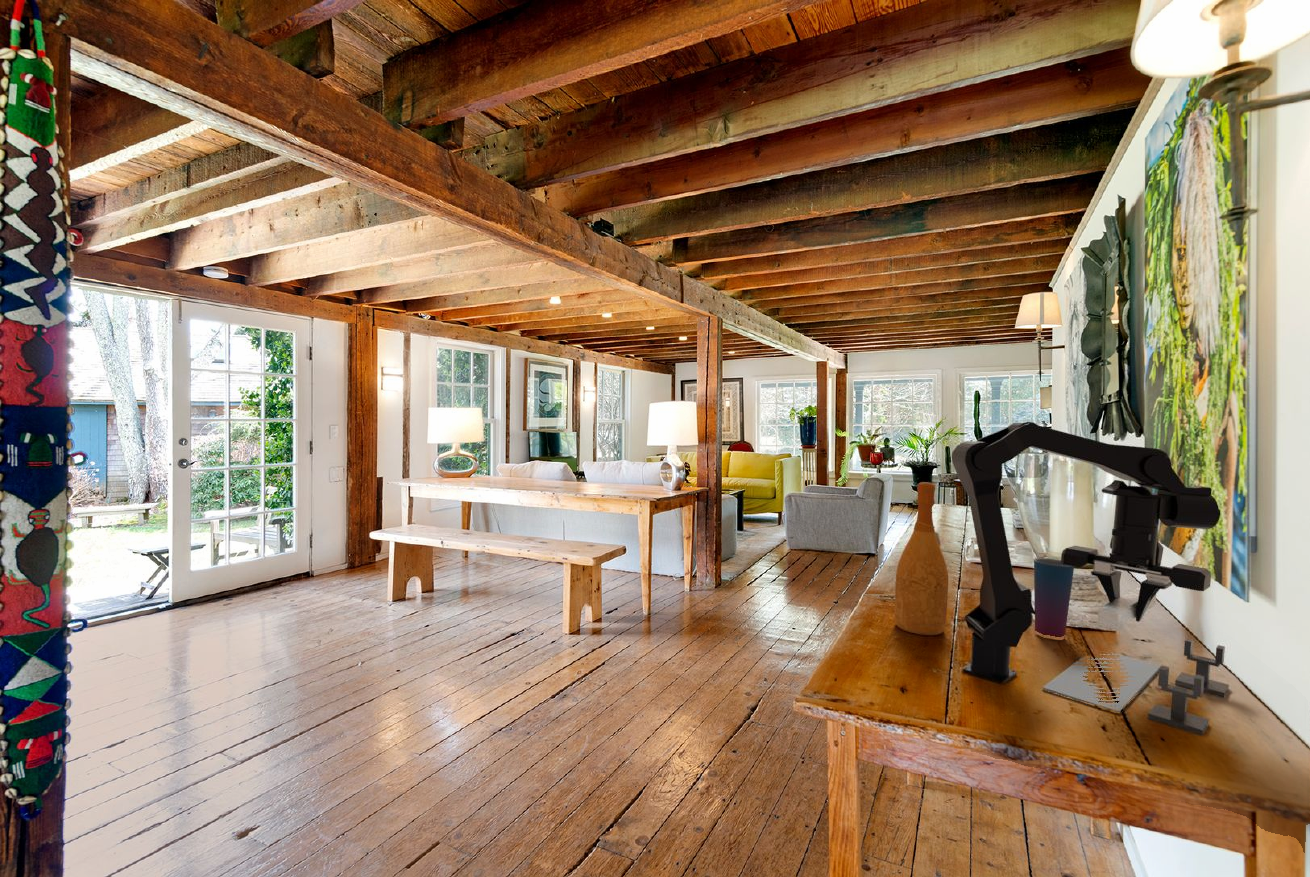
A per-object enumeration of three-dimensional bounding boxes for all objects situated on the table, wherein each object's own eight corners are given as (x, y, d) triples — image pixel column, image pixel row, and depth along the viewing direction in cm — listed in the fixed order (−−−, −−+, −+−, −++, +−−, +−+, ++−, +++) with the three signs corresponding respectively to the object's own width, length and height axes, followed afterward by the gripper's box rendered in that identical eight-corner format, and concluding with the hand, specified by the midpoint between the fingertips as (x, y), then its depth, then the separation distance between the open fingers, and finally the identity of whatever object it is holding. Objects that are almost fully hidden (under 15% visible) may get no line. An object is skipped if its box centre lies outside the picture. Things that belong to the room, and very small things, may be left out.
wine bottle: (952, 639, 120) (960, 486, 119) (899, 635, 122) (906, 483, 121) (937, 623, 130) (944, 481, 129) (888, 619, 132) (895, 478, 130)
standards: (1202, 735, 85) (1205, 684, 85) (1147, 718, 90) (1151, 669, 90) (1228, 689, 101) (1231, 645, 101) (1181, 676, 106) (1183, 635, 105)
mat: (1119, 714, 91) (1119, 711, 91) (1042, 690, 98) (1042, 687, 98) (1161, 668, 109) (1161, 665, 109) (1094, 650, 117) (1094, 648, 117)
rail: (1116, 629, 93) (1118, 612, 93) (1097, 624, 95) (1098, 608, 95) (1155, 605, 108) (1156, 591, 107) (1137, 601, 109) (1138, 587, 109)
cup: (1076, 643, 120) (1080, 567, 119) (1037, 640, 121) (1042, 564, 121) (1060, 632, 127) (1065, 559, 126) (1024, 628, 128) (1028, 557, 127)
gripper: (1221, 530, 99) (1212, 627, 99) (1084, 512, 113) (1077, 596, 114) (1208, 536, 91) (1198, 640, 92) (1063, 515, 106) (1056, 605, 106)
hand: (1127, 618), depth 101 cm, fingers closed on rail, 2 cm apart
